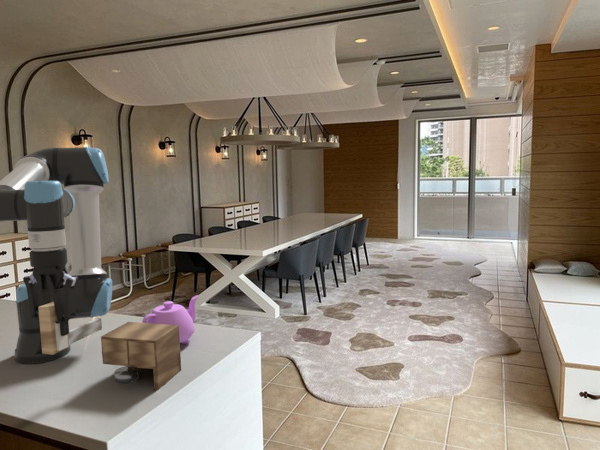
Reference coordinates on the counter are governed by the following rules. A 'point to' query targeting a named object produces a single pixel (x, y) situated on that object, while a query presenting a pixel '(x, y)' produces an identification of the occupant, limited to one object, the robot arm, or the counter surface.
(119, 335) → the small wooden cabinet
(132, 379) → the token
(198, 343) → the counter surface
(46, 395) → the counter surface
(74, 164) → the robot arm
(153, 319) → the teapot
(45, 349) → the wood and metal l-shape
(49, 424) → the counter surface
